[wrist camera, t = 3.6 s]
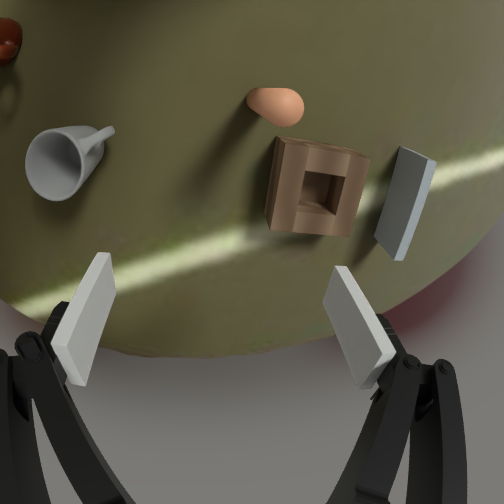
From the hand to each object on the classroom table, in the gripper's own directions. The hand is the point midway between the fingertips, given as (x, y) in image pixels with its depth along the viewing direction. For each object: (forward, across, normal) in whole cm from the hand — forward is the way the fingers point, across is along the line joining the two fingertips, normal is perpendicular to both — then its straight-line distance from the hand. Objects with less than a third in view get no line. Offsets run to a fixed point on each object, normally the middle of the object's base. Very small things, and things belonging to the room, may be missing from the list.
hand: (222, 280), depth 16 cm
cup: (+22, -16, +3) cm, 27 cm away
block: (+22, +11, 0) cm, 24 cm away
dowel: (+22, +3, +9) cm, 24 cm away
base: (+22, +24, 0) cm, 32 cm away
